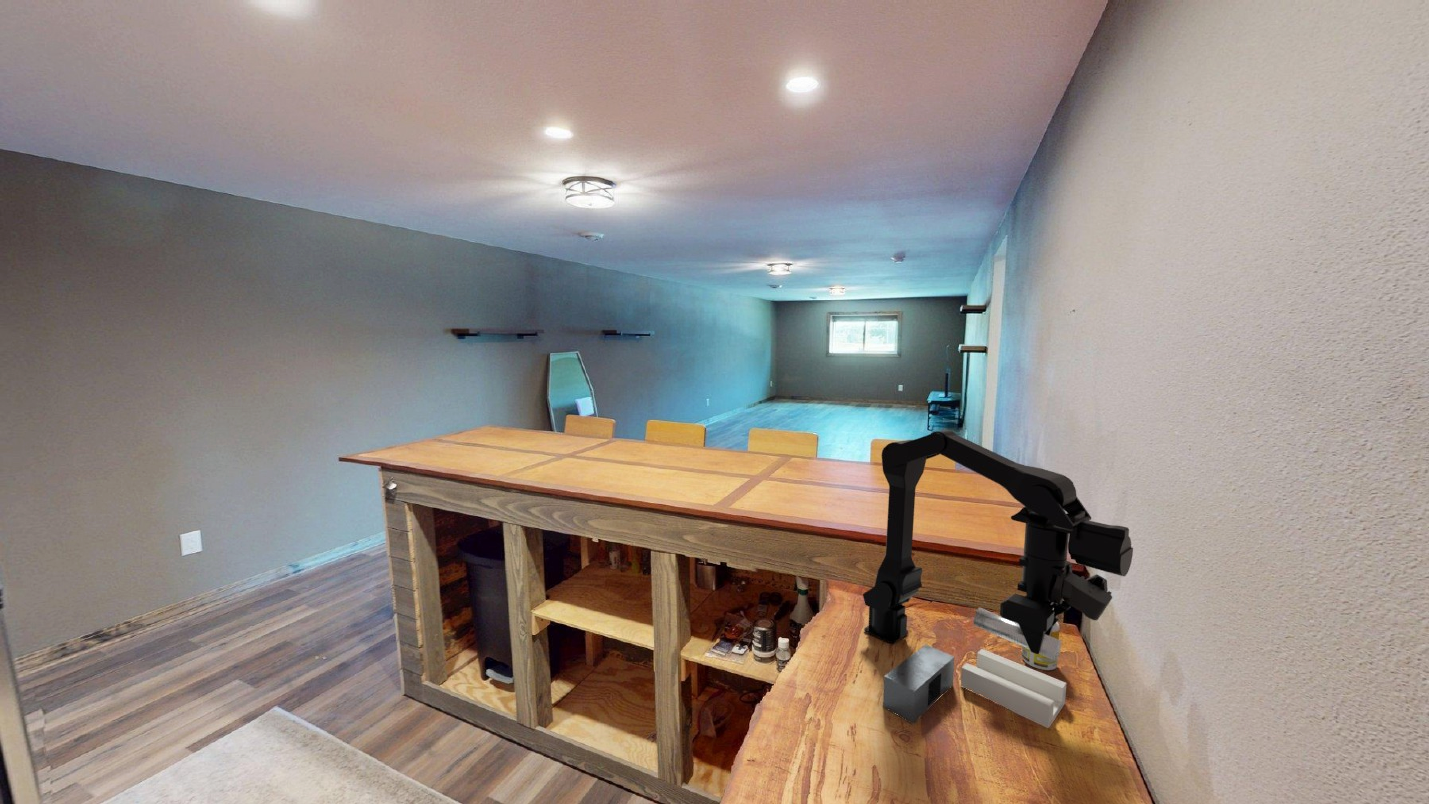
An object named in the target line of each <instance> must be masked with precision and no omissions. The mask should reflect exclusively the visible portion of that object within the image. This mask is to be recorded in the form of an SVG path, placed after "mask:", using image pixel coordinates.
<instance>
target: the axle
mask: <svg viewBox="0 0 1429 804" xmlns="http://www.w3.org/2000/svg"><path fill="white" fill-rule="evenodd" d="M973 617H974V618H973V626H975V627H977V628H979V629H982V630H984V631H986V632H988V633H990V634H992V635H995V636H997V637H1000V638H1002V639H1004V640H1006V641H1009V642H1011V643H1014V644H1016V645H1018V646H1021V647H1025V648H1027V649H1029V646H1028V644H1027V642H1026V639H1025V637H1024V635H1023V633H1022V631H1021V628H1020V626H1019V624H1018V623H1016V622H1013V621H1010V620H1008V619H1005V618H1002V617H1001V616H1000V614H999V615H998V614H996V613H994V612H992V611H989V610H986V609H985V608H982V607H978V608H977V609H976V611H975V614H974V616H973ZM1061 648H1062V640H1060V639H1059V640H1058V639H1056V638H1053V637H1051V636H1048V635H1046V634H1045V636H1044V639H1043V643H1042V646H1041V650H1040V653H1039V654H1041V655H1043V656H1045V657H1048V658H1050V659H1052V660H1054V661H1056V660H1057V658H1059V655H1060V653H1061ZM1029 650H1030V649H1029Z"/></svg>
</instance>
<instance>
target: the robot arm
mask: <svg viewBox="0 0 1429 804" xmlns="http://www.w3.org/2000/svg"><path fill="white" fill-rule="evenodd" d="M939 455H941V456H943V457H945V458H947V459H949V460H951V461H953V462H955V463H957V464H959V465H961V466H962V467H964V468H967V469H968V470H971V471H972V472H975V474H979V475H980V476H982V477H984V478H986V479H988V480H990V481H992V482H994V483H996V484H998V485H999V486H1001V487H1002V488H1004V489H1005V491H1007V492H1008V493H1009V494H1010V495H1011V497H1013V499H1015V500H1016V502H1019V503H1020V504H1021V505H1023V507H1022V508H1021V509H1020V510H1019V511H1018V512H1017V513H1015V514H1013V515H1011V516H1010V519H1011V521H1014V522H1019V523H1022V524H1025V525H1024V526H1025V527H1024V545H1023V555H1022V556H1020V557H1019V558H1018V565H1019V566H1021V567H1022V575H1021V580H1020V581H1019V582H1018V583H1017V589H1016V590H1017V591H1020V592H1022V593H1026V594H1025V595H1022V594H1020V593H1013V594H1011V595H1010V596H1008V597H1007V598H1006V599H1004V600H1003V601H1002V602H1000V608H999V616H1001V617H1002V618H1005V619H1008V620H1010V621H1013V622H1016V623H1018V624H1019V626H1020V628H1021V631H1022V633H1023V635H1024V637H1025V639H1026V642H1027V644H1028V646H1029V649H1030V651H1031V652H1033V653H1035V654H1039V653H1040V650H1041V646H1042V643H1043V639H1044V636H1045V634H1046V635H1048V636H1050V634H1051V632H1052V629H1053V626H1054V625H1055V623H1056V622H1058V621H1059V620H1060V619H1059V618H1058V616H1059V615H1061V614H1063V613H1065V612H1067V611H1068V610H1069V609H1070V608H1071V607H1073V608H1074V609H1076V610H1077V611H1079V612H1080V613H1082V614H1084V616H1085V617H1086V618H1088V619H1090V620H1092V621H1098V620H1100V617H1101V616H1102V614H1103V613H1104V611H1105V610H1106V609H1107V607H1108V606H1109V604H1110V602H1111V600H1112V599H1113V595H1112V591H1110V590H1109V591H1108V580H1107V579H1106V578H1104V577H1102V576H1100V575H1099V574H1094V575H1092V576H1090V577H1087V578H1086V577H1085V576H1084V575H1081V577H1080V576H1079V575H1077V574H1075V573H1074V572H1073V565H1072V564H1071V561H1069V560H1068V555H1070V557H1069V558H1070V559H1071V560H1073V561H1075V563H1076V564H1077V565H1080V566H1085V567H1087V568H1088V567H1089V568H1091V569H1095V570H1099V571H1103V572H1106V573H1110V574H1113V575H1116V576H1120V577H1126V576H1127V574H1128V573H1129V570H1130V569H1131V565H1132V560H1133V554H1134V547H1132V541H1131V537H1130V536H1129V535H1130V529H1129V527H1128V526H1127V527H1126V526H1123V525H1117V524H1116V525H1113V524H1108V523H1107V524H1106V523H1102V522H1099V521H1098V522H1097V521H1093V520H1092V516H1091V515H1090V513H1089V511H1088V510H1087V508H1086V507H1085V506H1084V505H1083V503H1082V502H1081V501H1080V499H1079V498H1078V496H1077V489H1076V487H1075V485H1074V481H1072V480H1071V479H1070V478H1069V477H1067V476H1066V475H1065V474H1062V473H1058V472H1055V471H1051V470H1049V469H1045V468H1041V467H1035V466H1031V465H1025V464H1022V463H1018V462H1015V461H1013V460H1012V459H1010V458H1007V457H1005V456H1003V455H1000V453H999V454H998V453H996V452H994V451H992V450H990V449H987V448H986V447H983V446H982V445H979V444H978V443H975V442H974V441H971V440H969V439H966V438H965V437H962V436H960V435H958V434H957V433H955V432H954V431H953V430H951V429H943V430H938V431H937V430H936V431H933V432H931V433H929V434H927V435H925V436H922V437H918V438H916V439H907V440H906V439H904V440H900V441H894V442H893V441H892V442H890V443H888V444H886V445H885V446H884V447H883V448H882V451H881V464H882V466H881V467H882V472H883V476H884V477H885V479H886V481H887V483H888V502H887V503H888V504H887V521H886V526H887V527H886V541H885V554H884V557H883V560H882V561H881V564H880V565H879V568H878V569H877V573H876V577H875V582H874V586H873V587H872V588H870V589H869V590H867V591H866V592H864V593H863V594H862V598H863V601H864V604H865V605H866V606H867V607H868V625H867V626H866V627H864V629H863V631H864V632H865V633H867V634H869V635H871V636H874V637H876V638H879V640H883V641H885V642H887V643H889V644H890V645H891V644H895V643H897V641H900V640H901V639H902V638H904V637H905V636H907V635H908V634H909V630H908V629H907V628H908V615H907V614H906V606H905V605H904V604H905V603H908V602H910V600H911V599H912V598H911V597H913V596H916V595H917V593H918V592H919V589H921V588H923V584H922V573H923V568H922V567H920V566H919V567H918V566H917V565H916V564H915V563H914V560H913V558H912V557H913V556H912V555H913V554H912V553H913V552H912V551H913V536H914V534H913V533H914V521H915V520H914V519H915V504H916V503H915V502H916V488H917V485H918V483H919V481H920V479H921V477H922V476H923V474H924V471H925V468H926V462H927V460H928V459H931V458H935V457H937V456H939ZM1085 578H1086V579H1085Z"/></svg>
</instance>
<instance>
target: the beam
mask: <svg viewBox="0 0 1429 804" xmlns="http://www.w3.org/2000/svg"><path fill="white" fill-rule="evenodd" d="M954 667H955V656H953V655H952V654H949V653H947V652H944V651H942V650H940V649H938V648H936V647H933V646H931V645H928V644H924V645H922V647H920V648H919V649H918V650H916V651H915V652H914V653H912V655H910V656H909V657H908V658H906V659H905V660H903V661H902V662H901V663H900V664H898V665H897V666H896V667H894V668H893V669H891V670H890V671H889V672H887V673H886V674H885V675H884V676H883V697H882V698H883V699H882V707H883V708H884V707H885V708H886V709H885V708H884V709H885V710H887V709H889V710H890V711H889V710H888V711H889V712H891V711H892V712H894V713H896V714H898V715H899V716H898V715H897V716H898V717H900V716H901V717H903V718H904V719H903V718H902V719H903V720H905V719H906V720H905V721H907V722H908V721H910V722H909V723H910V724H912V725H913V724H915V722H917V720H919V719H920V718H921V717H922V716H923V715H924V714H925V713H926V712H927V711H928V710H929V709H930V708H931V707H932V706H933V705H934V704H935V703H936V702H937V701H938V700H937V699H938V698H939V697H940V696H941V695H942V694H944V693H945V692H946V691H947V690H948V691H949V690H950V689H951V688H952V687H954V674H955V673H954V671H955V668H954ZM951 686H952V687H951ZM950 687H951V688H950ZM949 688H950V689H949ZM948 691H947V692H948ZM947 692H946V693H947ZM946 693H945V694H946ZM945 694H944V695H945ZM936 700H937V701H936ZM935 701H936V702H935ZM934 702H935V703H934ZM933 703H934V704H933ZM932 704H933V705H932ZM931 705H932V706H931ZM930 706H931V707H930ZM929 707H930V708H929ZM928 708H929V709H928ZM927 709H928V710H927ZM892 712H891V713H892ZM894 713H893V714H894ZM923 713H924V714H923ZM896 714H895V715H896ZM922 714H923V715H922ZM921 715H922V716H921ZM920 716H921V717H920ZM901 717H900V718H901ZM919 717H920V718H919ZM918 718H919V719H918Z"/></svg>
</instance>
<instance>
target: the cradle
mask: <svg viewBox="0 0 1429 804" xmlns="http://www.w3.org/2000/svg"><path fill="white" fill-rule="evenodd" d="M976 654H977V655H976V666H975V665H973V664H970V663H969V662H966V663H964V665H963V666H962V667H961V674H960V687H961V686H963V687H965V688H967V689H969V690H972V691H973V692H975V693H977V694H981V695H983V696H984V697H986V698H989V699H990V700H992V701H994V702H997V703H998V704H1000V705H1002V706H1004V707H1006V708H1008V709H1010V710H1011V711H1010V710H1009V711H1010V712H1013V713H1015V714H1017V715H1019V716H1021V717H1023V718H1026V719H1027V720H1029V721H1032V722H1034V723H1036V724H1038V725H1040V726H1043V727H1045V728H1047V729H1050V728H1051V725H1052V724H1053V722H1054V721H1055V720H1056V718H1057V717H1058V715H1059V714H1060V712H1061V710H1062V709H1063V707H1064V706H1065V705H1066V694H1067V682H1065V681H1062V680H1060V679H1057V678H1055V677H1052V676H1050V675H1047V674H1045V673H1044V672H1040V671H1038V670H1035V669H1032V668H1031V667H1028V666H1025V665H1024V664H1021V663H1018V662H1015V661H1013V660H1010V659H1008V658H1006V657H1003V656H1001V655H998V654H996V653H993V652H991V651H988V650H986V649H984V648H981V649H980V650H979V651H978V652H977V653H976ZM977 694H976V695H977ZM998 704H997V705H998ZM1000 705H999V706H1000ZM1002 706H1001V707H1002ZM1004 707H1003V708H1004ZM1006 708H1005V709H1006ZM1008 709H1007V710H1008Z"/></svg>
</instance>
